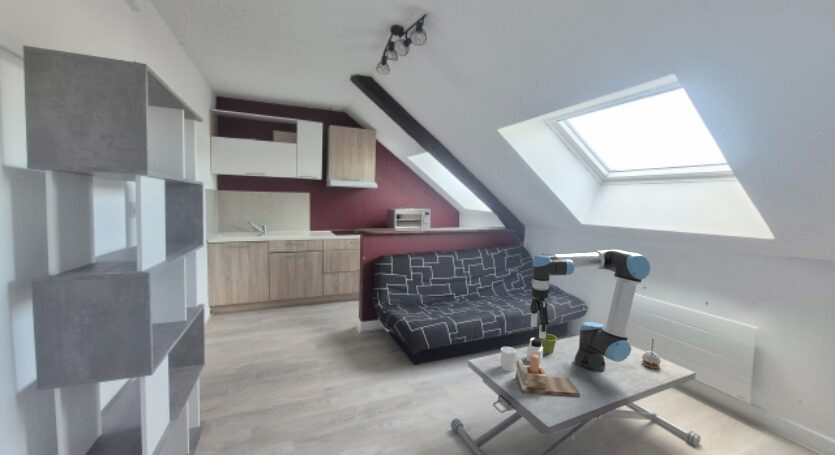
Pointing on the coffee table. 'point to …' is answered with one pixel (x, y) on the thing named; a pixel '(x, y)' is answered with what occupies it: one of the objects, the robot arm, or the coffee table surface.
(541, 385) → the open wooden box
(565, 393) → the board
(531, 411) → the coffee table surface
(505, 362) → the white cup
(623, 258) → the robot arm
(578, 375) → the coffee table surface
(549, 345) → the plant pot
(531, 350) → the medicine bottle
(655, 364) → the cupcake with stick
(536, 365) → the dowel
